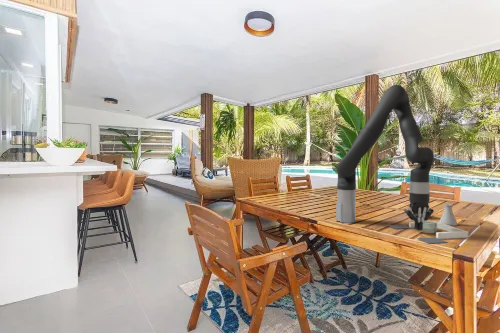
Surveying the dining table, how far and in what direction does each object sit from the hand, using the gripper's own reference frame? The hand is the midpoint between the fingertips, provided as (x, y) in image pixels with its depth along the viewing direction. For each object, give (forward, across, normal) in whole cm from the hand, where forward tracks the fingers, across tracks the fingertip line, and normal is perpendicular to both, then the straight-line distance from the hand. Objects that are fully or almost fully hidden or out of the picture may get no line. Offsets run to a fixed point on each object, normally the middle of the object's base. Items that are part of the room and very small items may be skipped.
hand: (418, 229), depth 113 cm
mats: (+1, -3, 0) cm, 3 cm away
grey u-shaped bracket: (+1, +8, -1) cm, 8 cm away
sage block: (+2, +6, +3) cm, 7 cm away
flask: (+2, +24, +10) cm, 26 cm away
